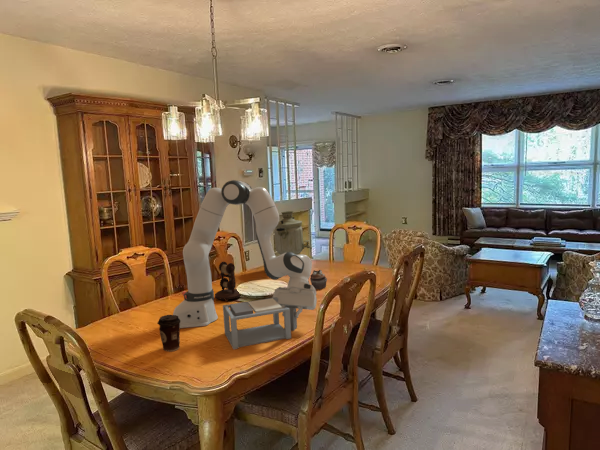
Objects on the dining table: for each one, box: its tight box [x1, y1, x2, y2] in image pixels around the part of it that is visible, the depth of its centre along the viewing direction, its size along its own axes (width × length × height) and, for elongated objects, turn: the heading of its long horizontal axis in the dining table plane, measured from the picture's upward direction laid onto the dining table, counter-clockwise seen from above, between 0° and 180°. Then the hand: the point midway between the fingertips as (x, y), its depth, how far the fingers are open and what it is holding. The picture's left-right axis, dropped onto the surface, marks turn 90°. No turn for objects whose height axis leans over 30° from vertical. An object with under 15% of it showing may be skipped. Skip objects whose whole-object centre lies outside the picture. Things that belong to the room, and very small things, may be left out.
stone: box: [287, 307, 298, 332], centre depth 181 cm, size 4×4×9 cm
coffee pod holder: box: [214, 261, 241, 303], centre depth 228 cm, size 15×15×20 cm
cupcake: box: [309, 269, 328, 290], centre depth 242 cm, size 10×10×10 cm
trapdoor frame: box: [222, 297, 292, 350], centre depth 174 cm, size 24×18×12 cm
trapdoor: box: [229, 297, 282, 317], centre depth 173 cm, size 19×13×3 cm
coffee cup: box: [156, 314, 181, 352], centre depth 165 cm, size 9×8×13 cm
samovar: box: [273, 210, 313, 255], centre depth 286 cm, size 30×26×40 cm
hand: (290, 316), depth 180 cm, fingers closed on stone, 4 cm apart
